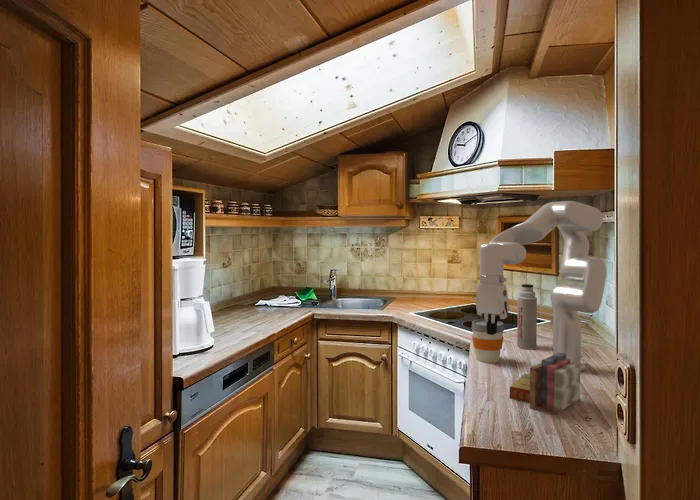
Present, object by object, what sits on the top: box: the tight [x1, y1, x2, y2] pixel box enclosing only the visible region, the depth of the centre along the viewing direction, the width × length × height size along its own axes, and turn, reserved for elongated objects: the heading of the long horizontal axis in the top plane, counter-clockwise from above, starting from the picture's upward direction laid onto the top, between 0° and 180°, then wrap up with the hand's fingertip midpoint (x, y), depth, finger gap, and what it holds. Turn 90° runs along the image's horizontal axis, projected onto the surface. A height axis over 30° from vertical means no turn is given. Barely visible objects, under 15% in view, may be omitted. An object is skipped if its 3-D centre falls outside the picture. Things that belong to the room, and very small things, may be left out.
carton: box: [509, 373, 530, 403], centre depth 142 cm, size 8×16×4 cm, turn 143°
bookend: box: [529, 353, 581, 416], centre depth 133 cm, size 18×8×14 cm, turn 131°
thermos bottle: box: [516, 283, 538, 350], centre depth 196 cm, size 8×8×28 cm
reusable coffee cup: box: [471, 319, 505, 364], centre depth 179 cm, size 13×13×15 cm
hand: (491, 333), depth 150 cm, fingers closed
